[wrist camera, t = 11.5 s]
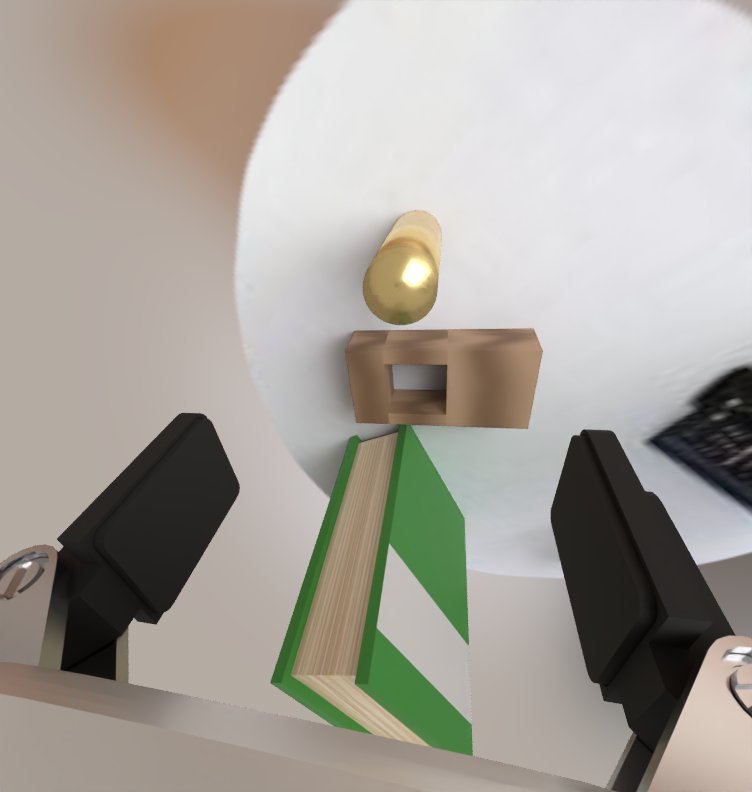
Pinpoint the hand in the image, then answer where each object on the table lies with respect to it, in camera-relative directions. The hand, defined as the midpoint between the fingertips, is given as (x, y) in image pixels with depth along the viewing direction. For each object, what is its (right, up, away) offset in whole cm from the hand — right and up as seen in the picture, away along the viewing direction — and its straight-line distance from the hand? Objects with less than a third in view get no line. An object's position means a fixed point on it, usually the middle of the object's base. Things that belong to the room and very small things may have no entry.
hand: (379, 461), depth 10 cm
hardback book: (+4, -9, +36) cm, 37 cm away
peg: (+3, +14, +20) cm, 24 cm away
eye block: (+6, +5, +26) cm, 27 cm away
